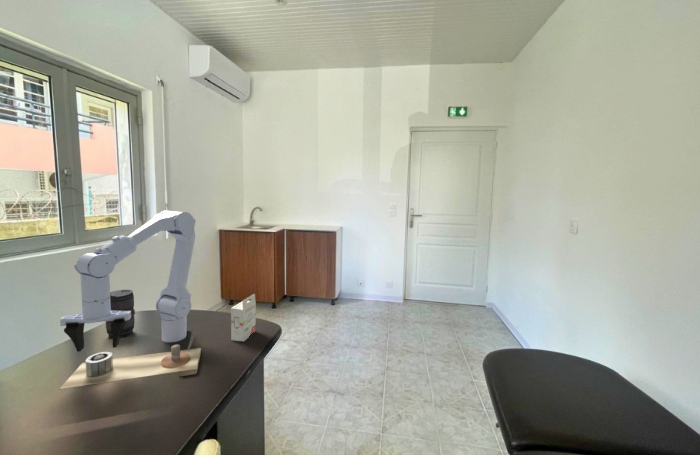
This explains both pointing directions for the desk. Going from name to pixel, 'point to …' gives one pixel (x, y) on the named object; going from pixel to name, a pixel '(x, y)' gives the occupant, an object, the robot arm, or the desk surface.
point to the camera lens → (122, 302)
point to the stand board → (140, 367)
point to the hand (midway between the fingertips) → (98, 347)
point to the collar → (99, 365)
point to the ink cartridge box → (243, 319)
